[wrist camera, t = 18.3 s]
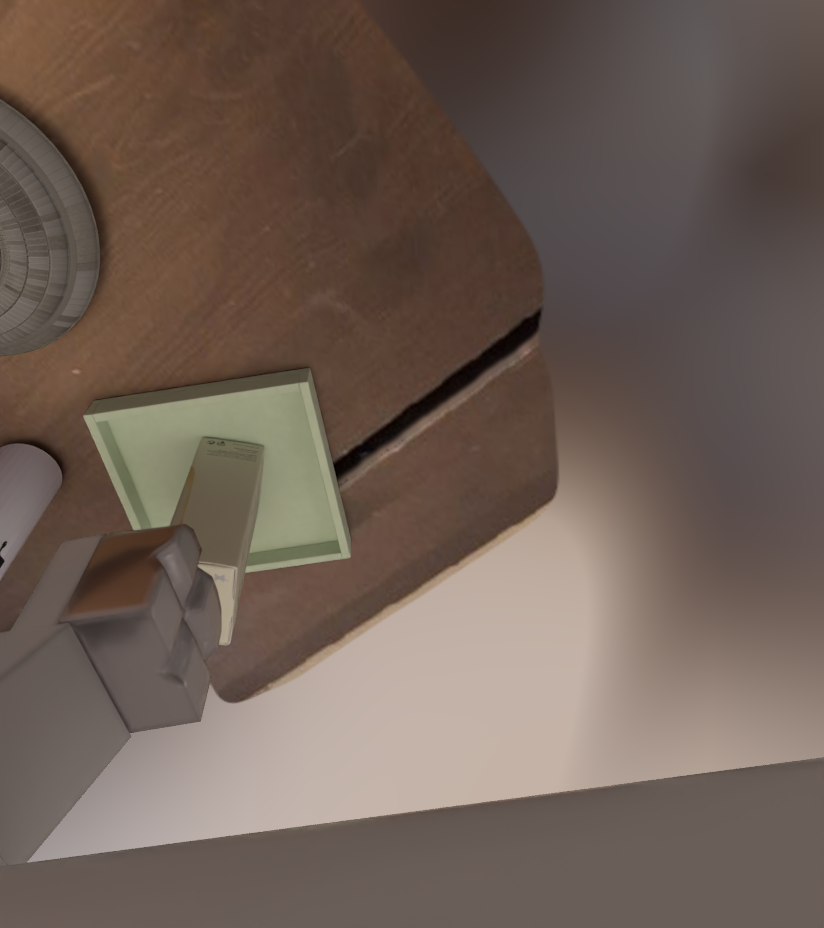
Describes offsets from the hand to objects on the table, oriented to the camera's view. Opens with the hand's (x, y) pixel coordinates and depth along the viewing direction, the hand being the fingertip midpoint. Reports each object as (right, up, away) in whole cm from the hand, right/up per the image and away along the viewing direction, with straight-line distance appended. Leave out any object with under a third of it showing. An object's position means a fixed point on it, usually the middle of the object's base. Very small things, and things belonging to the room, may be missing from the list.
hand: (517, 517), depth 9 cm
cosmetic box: (-14, 0, +40) cm, 43 cm away
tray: (-14, 0, +41) cm, 43 cm away
